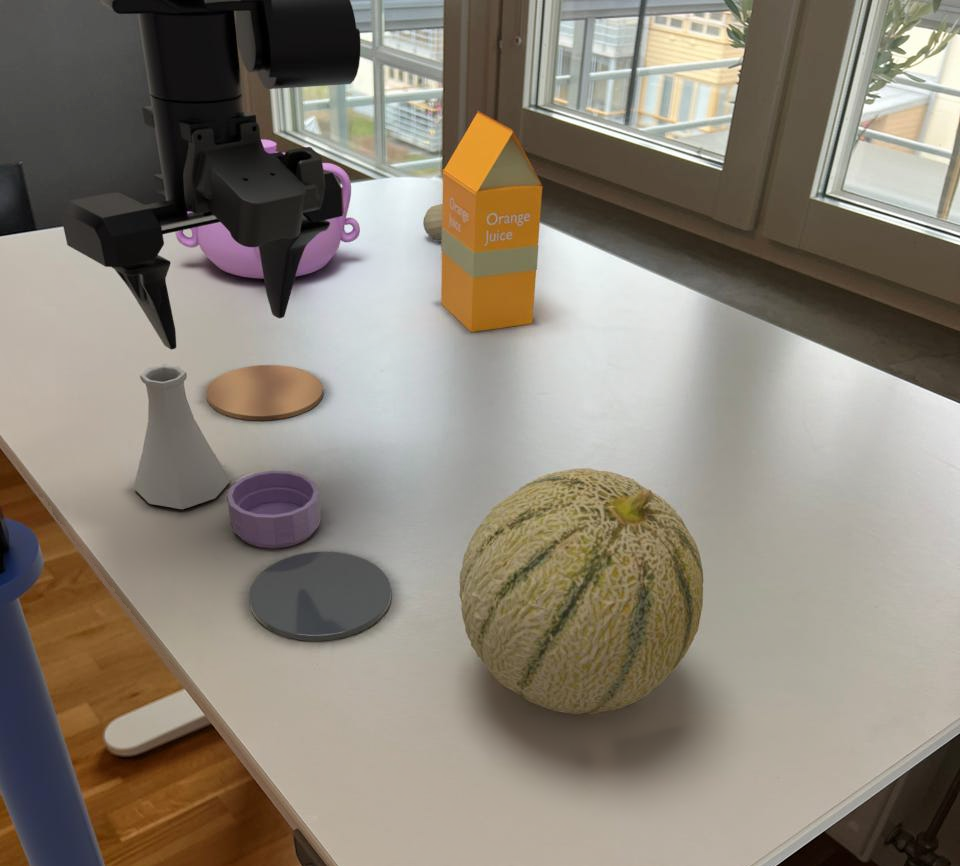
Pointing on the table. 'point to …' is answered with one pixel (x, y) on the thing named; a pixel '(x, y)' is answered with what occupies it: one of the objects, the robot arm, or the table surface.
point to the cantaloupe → (581, 591)
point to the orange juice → (490, 229)
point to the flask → (175, 447)
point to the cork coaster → (264, 392)
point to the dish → (274, 508)
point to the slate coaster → (320, 596)
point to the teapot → (247, 259)
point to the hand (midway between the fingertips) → (226, 331)
